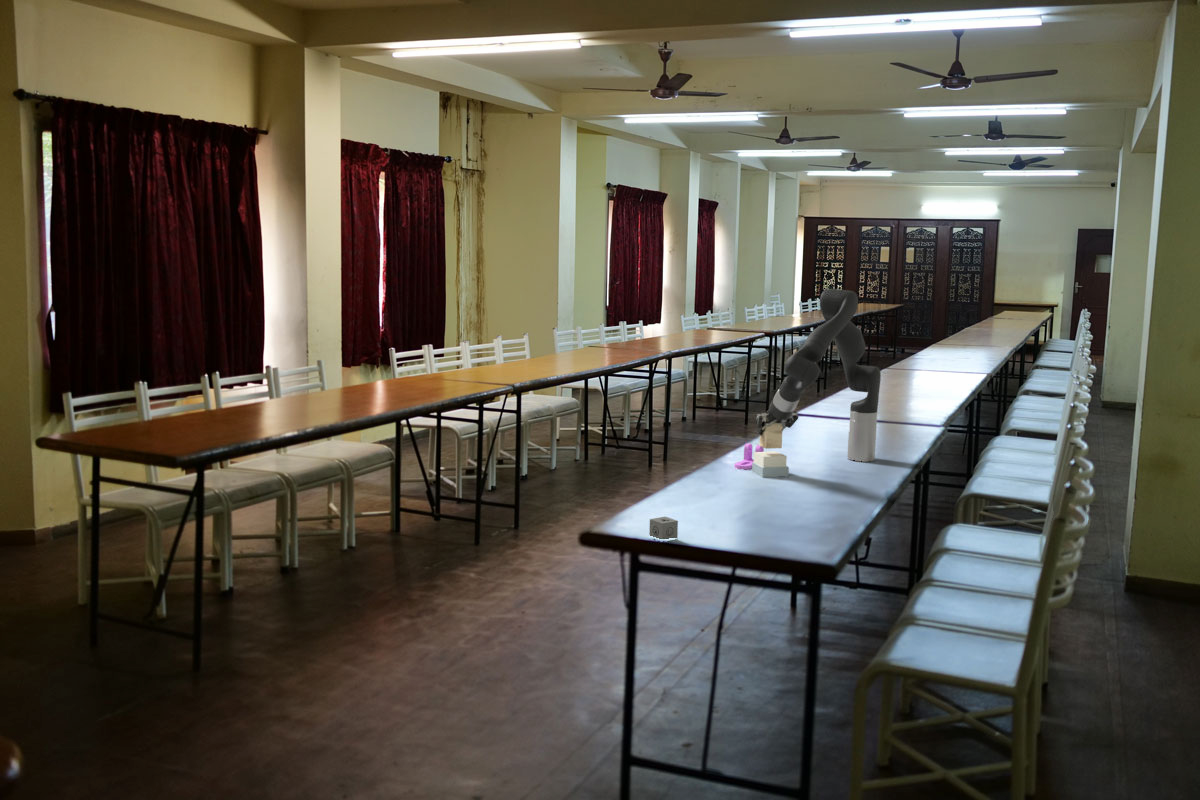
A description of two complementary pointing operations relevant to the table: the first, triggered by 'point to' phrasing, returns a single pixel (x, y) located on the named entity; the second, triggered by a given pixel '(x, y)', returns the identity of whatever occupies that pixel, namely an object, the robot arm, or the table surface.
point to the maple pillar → (772, 436)
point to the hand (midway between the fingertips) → (768, 433)
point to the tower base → (770, 471)
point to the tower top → (770, 459)
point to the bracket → (748, 457)
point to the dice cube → (663, 528)
